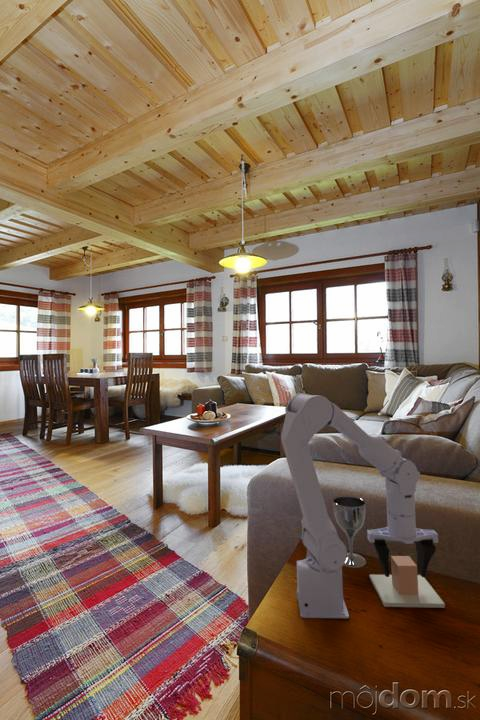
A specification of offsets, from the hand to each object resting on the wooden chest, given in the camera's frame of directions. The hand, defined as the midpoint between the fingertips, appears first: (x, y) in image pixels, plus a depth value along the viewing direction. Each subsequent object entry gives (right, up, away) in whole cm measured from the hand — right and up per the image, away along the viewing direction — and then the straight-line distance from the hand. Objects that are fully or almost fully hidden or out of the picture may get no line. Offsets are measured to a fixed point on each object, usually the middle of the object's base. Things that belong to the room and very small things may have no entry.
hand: (403, 574), depth 76 cm
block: (0, -3, 0) cm, 3 cm away
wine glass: (-7, -5, +13) cm, 16 cm away
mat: (0, -4, 0) cm, 4 cm away
